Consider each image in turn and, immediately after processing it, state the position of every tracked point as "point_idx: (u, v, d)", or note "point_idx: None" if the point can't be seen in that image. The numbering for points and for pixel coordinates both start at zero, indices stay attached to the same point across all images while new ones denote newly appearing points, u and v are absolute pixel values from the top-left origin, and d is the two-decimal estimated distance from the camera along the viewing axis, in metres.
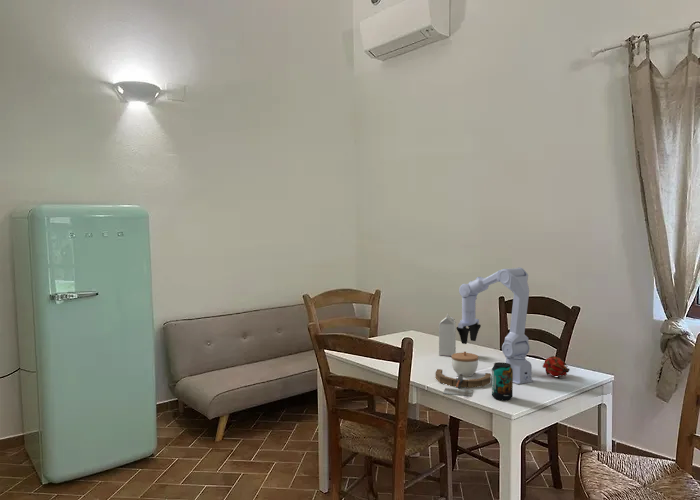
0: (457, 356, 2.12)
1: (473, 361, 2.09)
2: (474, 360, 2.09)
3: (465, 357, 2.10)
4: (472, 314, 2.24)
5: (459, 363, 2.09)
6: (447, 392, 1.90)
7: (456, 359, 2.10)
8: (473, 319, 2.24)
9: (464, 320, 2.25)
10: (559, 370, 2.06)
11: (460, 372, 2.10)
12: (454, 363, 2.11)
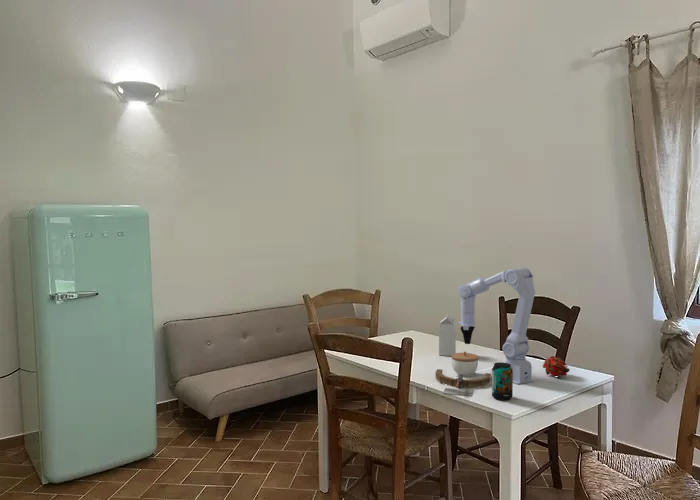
0: (457, 356, 2.12)
1: (473, 361, 2.09)
2: (474, 360, 2.09)
3: (465, 357, 2.10)
4: (473, 315, 2.20)
5: (459, 363, 2.09)
6: (447, 392, 1.90)
7: (456, 359, 2.10)
8: (473, 320, 2.21)
9: (465, 321, 2.20)
10: (559, 370, 2.06)
11: (460, 372, 2.10)
12: (454, 363, 2.11)
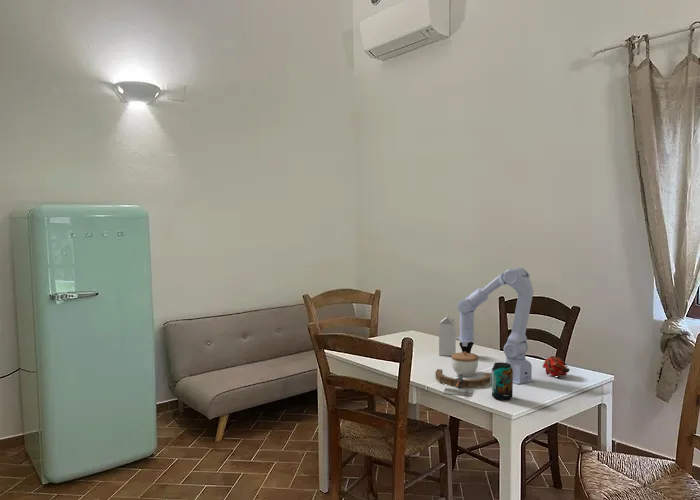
0: (457, 356, 2.12)
1: (473, 361, 2.09)
2: (474, 360, 2.09)
3: (465, 357, 2.10)
4: (472, 331, 2.17)
5: (459, 363, 2.09)
6: (447, 392, 1.90)
7: (456, 359, 2.10)
8: (473, 336, 2.18)
9: (464, 337, 2.17)
10: (559, 370, 2.06)
11: (460, 372, 2.10)
12: (454, 363, 2.11)
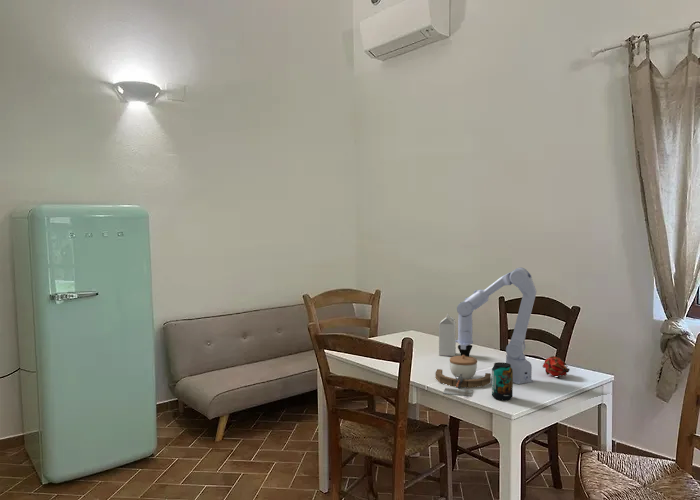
0: (455, 359, 2.06)
1: (472, 365, 2.03)
2: (473, 364, 2.03)
3: (463, 360, 2.05)
4: (471, 333, 2.12)
5: (457, 367, 2.04)
6: (447, 392, 1.90)
7: (454, 362, 2.05)
8: (471, 338, 2.12)
9: (463, 340, 2.11)
10: (559, 370, 2.06)
11: None
12: (452, 367, 2.06)
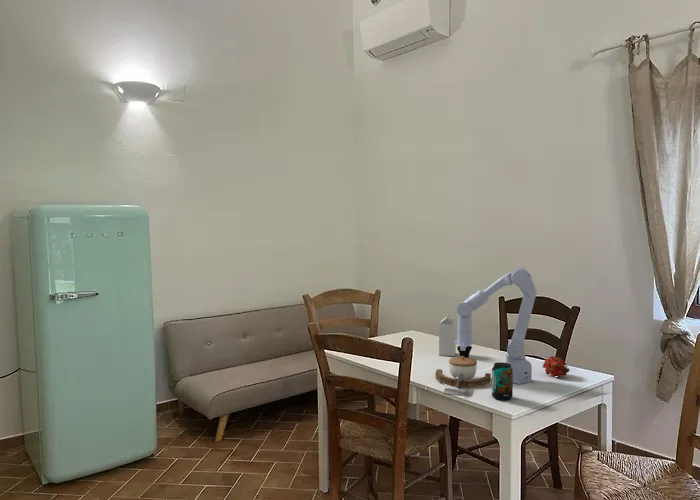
0: (455, 361, 2.04)
1: (471, 366, 2.01)
2: (472, 365, 2.02)
3: (463, 362, 2.03)
4: (470, 334, 2.10)
5: (457, 368, 2.02)
6: (447, 392, 1.90)
7: (454, 364, 2.03)
8: (471, 339, 2.10)
9: (462, 341, 2.10)
10: (559, 370, 2.06)
11: None
12: (452, 368, 2.04)
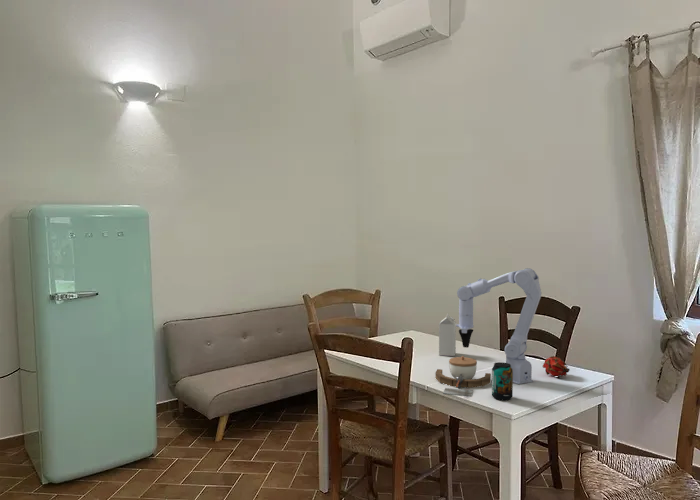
0: (455, 361, 2.05)
1: (471, 366, 2.01)
2: (472, 365, 2.02)
3: (463, 362, 2.03)
4: (472, 317, 2.14)
5: (457, 368, 2.02)
6: (447, 392, 1.90)
7: (454, 364, 2.03)
8: (472, 323, 2.15)
9: (464, 324, 2.14)
10: (559, 370, 2.06)
11: None
12: (452, 368, 2.04)
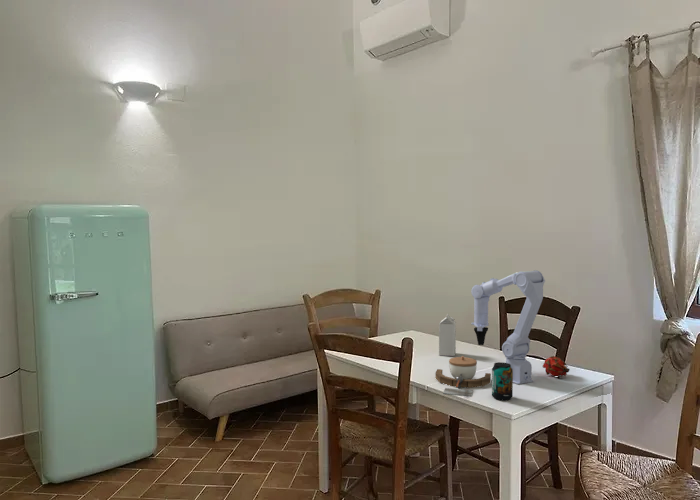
0: (455, 361, 2.05)
1: (471, 366, 2.01)
2: (472, 365, 2.02)
3: (463, 362, 2.03)
4: (487, 316, 2.18)
5: (457, 368, 2.02)
6: (447, 392, 1.90)
7: (454, 364, 2.03)
8: (487, 321, 2.19)
9: (479, 322, 2.18)
10: (559, 370, 2.06)
11: None
12: (452, 368, 2.04)
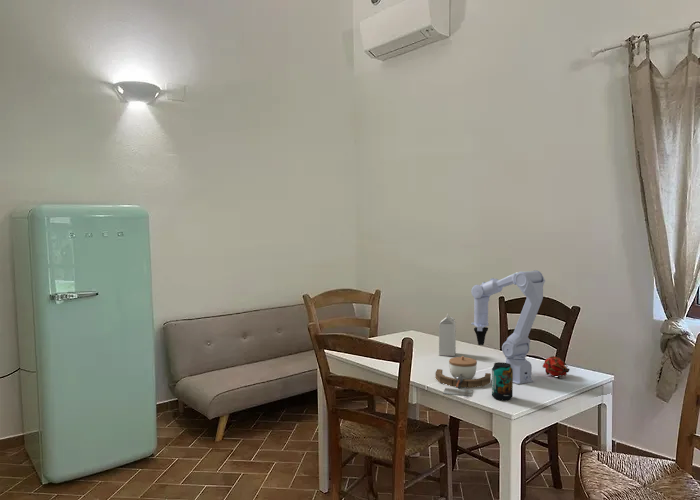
0: (455, 361, 2.05)
1: (471, 366, 2.01)
2: (472, 365, 2.02)
3: (463, 362, 2.03)
4: (487, 316, 2.18)
5: (457, 368, 2.02)
6: (447, 392, 1.90)
7: (454, 364, 2.03)
8: (487, 321, 2.19)
9: (479, 322, 2.18)
10: (559, 370, 2.06)
11: None
12: (452, 368, 2.04)
